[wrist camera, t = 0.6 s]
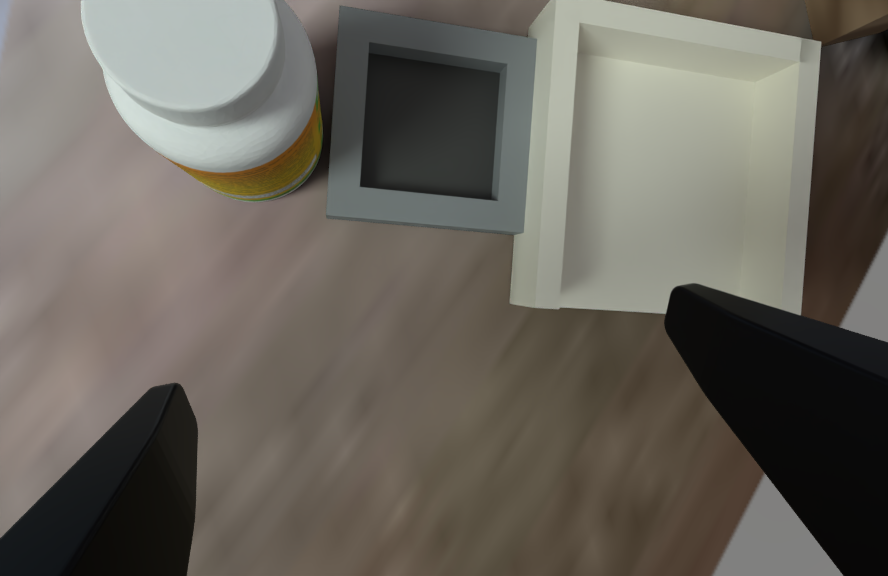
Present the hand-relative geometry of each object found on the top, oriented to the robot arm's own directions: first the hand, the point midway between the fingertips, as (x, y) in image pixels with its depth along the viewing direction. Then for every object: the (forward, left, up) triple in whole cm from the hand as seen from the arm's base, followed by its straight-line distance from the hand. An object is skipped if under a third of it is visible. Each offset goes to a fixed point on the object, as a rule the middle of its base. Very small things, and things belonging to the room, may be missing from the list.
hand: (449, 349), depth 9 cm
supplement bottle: (+6, +6, -13) cm, 16 cm away
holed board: (+7, -1, -13) cm, 15 cm away
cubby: (+6, -11, -13) cm, 18 cm away
